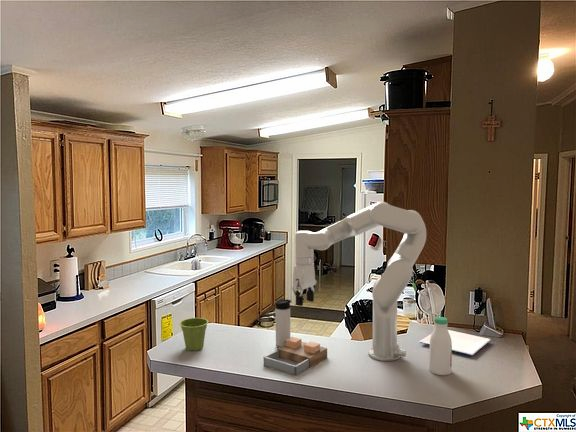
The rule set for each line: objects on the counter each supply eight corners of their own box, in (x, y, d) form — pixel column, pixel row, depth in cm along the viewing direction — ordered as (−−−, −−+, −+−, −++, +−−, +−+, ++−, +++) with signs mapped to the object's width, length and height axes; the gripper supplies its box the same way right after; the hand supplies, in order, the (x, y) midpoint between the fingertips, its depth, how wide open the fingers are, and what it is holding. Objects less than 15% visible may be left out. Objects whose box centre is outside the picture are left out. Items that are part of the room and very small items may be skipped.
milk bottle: (448, 377, 158) (449, 322, 156) (426, 373, 162) (427, 319, 161) (453, 369, 165) (454, 317, 163) (432, 365, 169) (433, 313, 167)
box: (309, 368, 167) (309, 359, 167) (295, 376, 160) (295, 366, 160) (277, 358, 176) (277, 350, 176) (263, 365, 170) (263, 356, 169)
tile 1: (301, 345, 180) (301, 339, 180) (294, 348, 176) (294, 342, 176) (292, 342, 182) (292, 336, 182) (285, 346, 179) (285, 339, 179)
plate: (490, 343, 191) (491, 338, 191) (472, 359, 175) (472, 354, 174) (440, 332, 206) (440, 327, 206) (418, 345, 189) (418, 341, 189)
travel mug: (289, 349, 186) (289, 302, 184) (274, 348, 187) (273, 301, 186) (292, 343, 192) (292, 298, 191) (277, 342, 193) (277, 297, 192)
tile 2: (320, 350, 174) (320, 343, 174) (313, 353, 171) (313, 347, 171) (310, 347, 177) (310, 341, 177) (304, 351, 173) (304, 344, 173)
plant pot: (174, 351, 185) (173, 324, 184) (190, 341, 196) (189, 316, 195) (199, 355, 181) (198, 328, 180) (214, 344, 192) (213, 319, 191)
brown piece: (327, 358, 176) (327, 348, 176) (310, 368, 167) (310, 358, 167) (294, 349, 186) (294, 339, 186) (276, 358, 177) (276, 348, 176)
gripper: (309, 257, 192) (309, 297, 194) (284, 263, 178) (284, 306, 180) (323, 258, 188) (323, 300, 189) (299, 265, 174) (299, 309, 175)
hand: (304, 302), depth 184 cm, fingers open, 7 cm apart
